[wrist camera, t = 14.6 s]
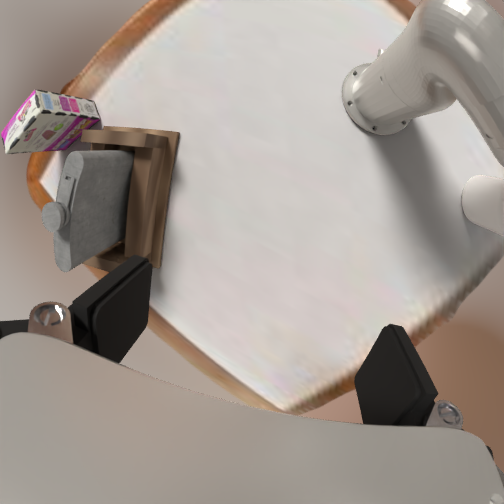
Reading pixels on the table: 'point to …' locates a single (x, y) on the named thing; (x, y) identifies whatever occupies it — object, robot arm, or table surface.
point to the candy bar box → (48, 122)
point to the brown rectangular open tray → (139, 191)
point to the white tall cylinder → (485, 202)
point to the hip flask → (89, 205)
